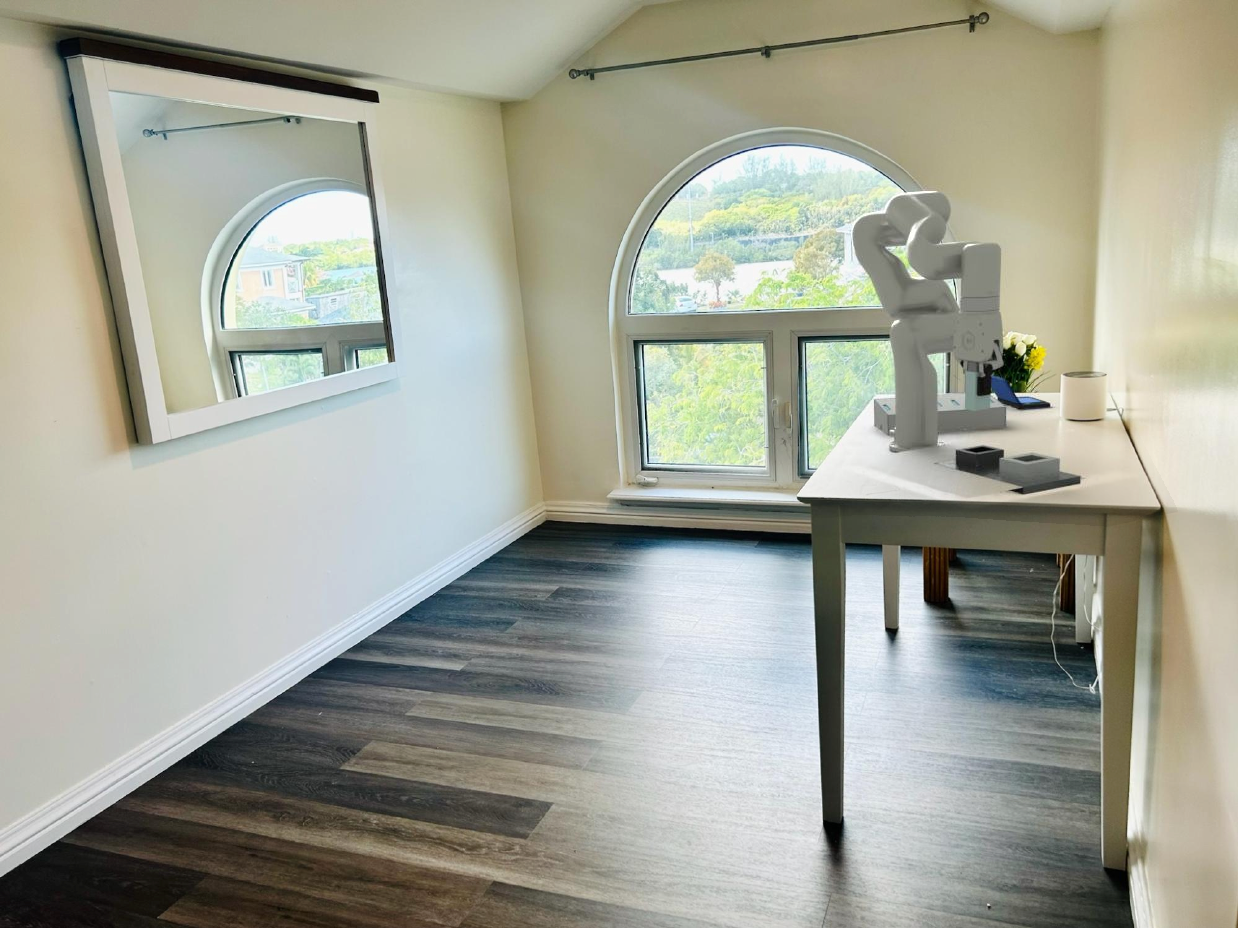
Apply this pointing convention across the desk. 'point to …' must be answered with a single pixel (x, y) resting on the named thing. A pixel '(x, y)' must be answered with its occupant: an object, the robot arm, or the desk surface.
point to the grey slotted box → (946, 414)
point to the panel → (1013, 468)
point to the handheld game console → (1014, 396)
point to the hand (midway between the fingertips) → (977, 393)
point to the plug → (974, 389)
